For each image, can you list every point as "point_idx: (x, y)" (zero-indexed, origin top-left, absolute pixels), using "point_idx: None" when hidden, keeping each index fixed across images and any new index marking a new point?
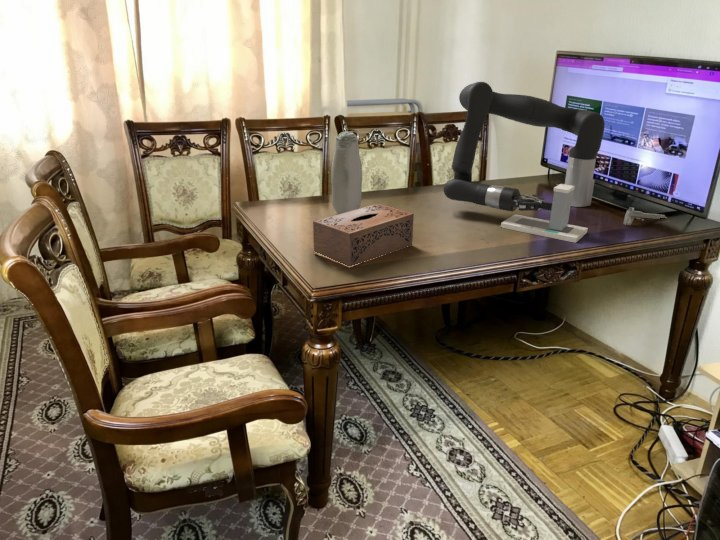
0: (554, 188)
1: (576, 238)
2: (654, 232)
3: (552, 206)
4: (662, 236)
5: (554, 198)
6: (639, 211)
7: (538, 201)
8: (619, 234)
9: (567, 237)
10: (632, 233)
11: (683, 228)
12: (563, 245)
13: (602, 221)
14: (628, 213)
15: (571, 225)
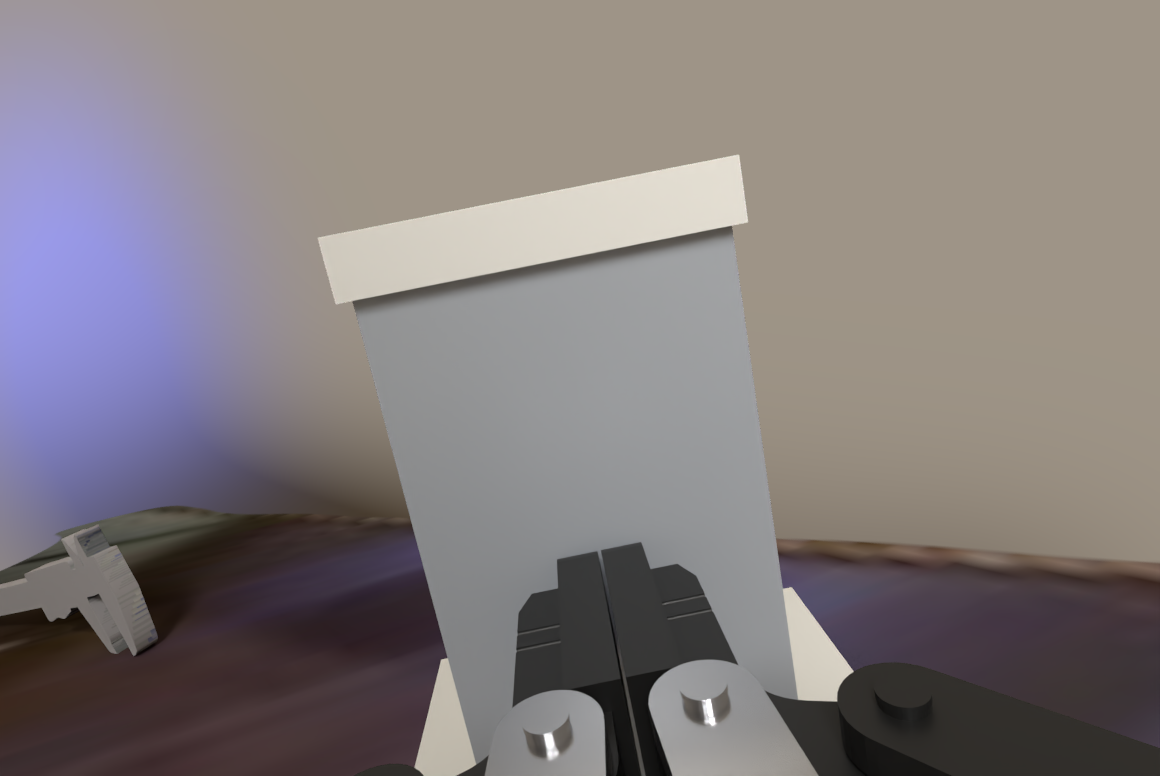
0: (732, 167)
1: (790, 591)
2: (269, 551)
3: (769, 505)
4: (329, 522)
5: (743, 360)
6: (40, 568)
7: (730, 736)
8: (383, 594)
9: (826, 642)
10: (329, 577)
11: (162, 536)
12: (967, 639)
13: (29, 771)
14: (123, 562)
15: (436, 769)
